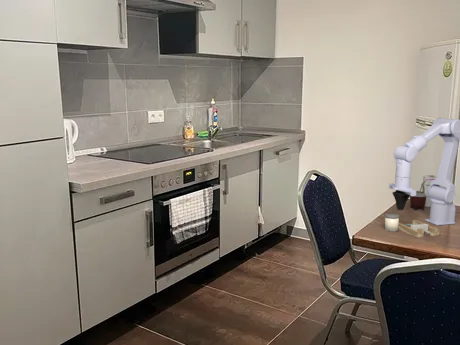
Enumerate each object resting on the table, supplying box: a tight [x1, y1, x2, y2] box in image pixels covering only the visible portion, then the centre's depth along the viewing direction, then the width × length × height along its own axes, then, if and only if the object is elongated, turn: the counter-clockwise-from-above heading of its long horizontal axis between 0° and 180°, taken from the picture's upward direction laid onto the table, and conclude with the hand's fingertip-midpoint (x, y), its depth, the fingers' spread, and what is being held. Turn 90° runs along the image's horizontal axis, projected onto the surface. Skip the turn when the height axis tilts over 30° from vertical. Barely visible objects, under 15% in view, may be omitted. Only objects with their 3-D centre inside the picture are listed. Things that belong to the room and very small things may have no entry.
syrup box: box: [421, 174, 437, 208], centre depth 222 cm, size 6×6×14 cm
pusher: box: [410, 223, 430, 235], centre depth 179 cm, size 7×6×3 cm
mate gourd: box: [409, 180, 427, 211], centre depth 216 cm, size 8×8×15 cm
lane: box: [398, 219, 440, 238], centre depth 184 cm, size 10×15×3 cm
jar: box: [384, 212, 400, 233], centre depth 185 cm, size 5×5×6 cm
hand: (400, 209), depth 184 cm, fingers closed
